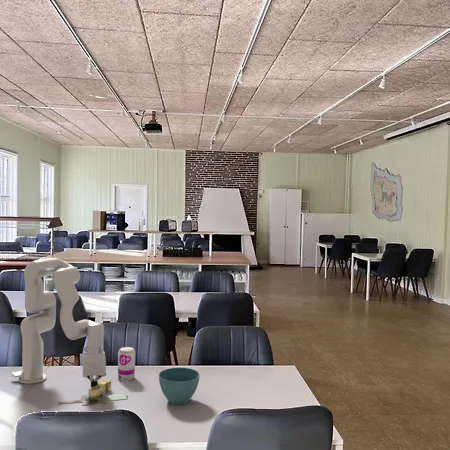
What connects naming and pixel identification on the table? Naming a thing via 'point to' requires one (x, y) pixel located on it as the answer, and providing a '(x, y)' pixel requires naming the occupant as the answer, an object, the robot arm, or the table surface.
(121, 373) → the supplement can
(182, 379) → the teal round bowl
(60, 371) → the table surface
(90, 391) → the bar
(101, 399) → the lock base plate
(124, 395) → the keeper pad
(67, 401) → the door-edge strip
